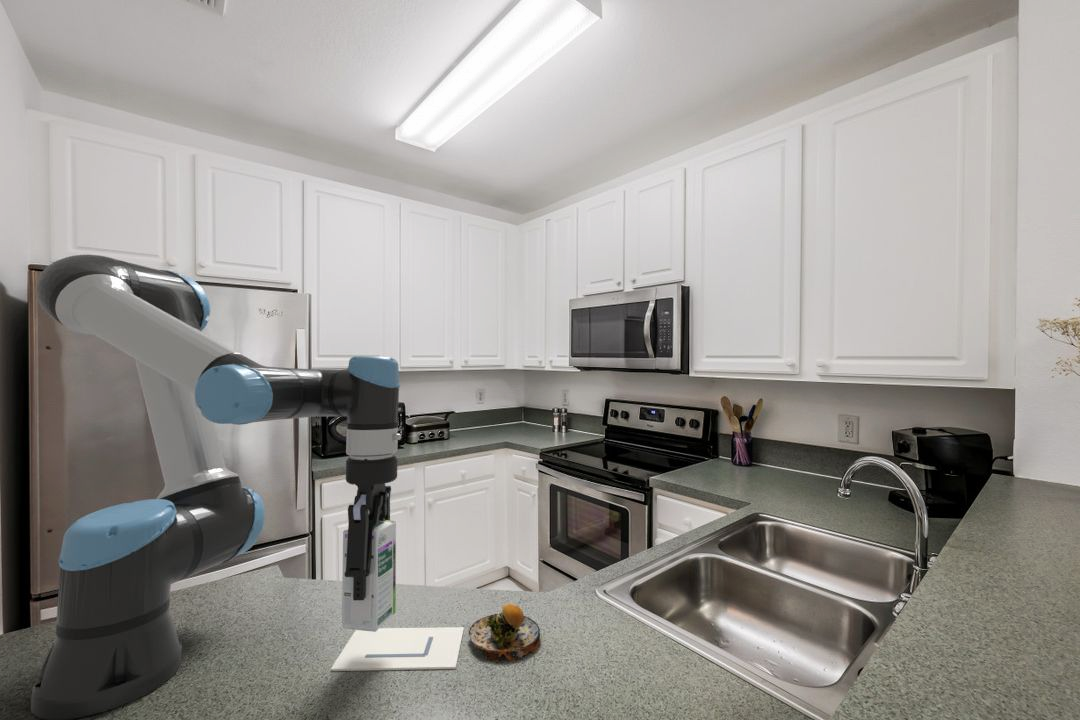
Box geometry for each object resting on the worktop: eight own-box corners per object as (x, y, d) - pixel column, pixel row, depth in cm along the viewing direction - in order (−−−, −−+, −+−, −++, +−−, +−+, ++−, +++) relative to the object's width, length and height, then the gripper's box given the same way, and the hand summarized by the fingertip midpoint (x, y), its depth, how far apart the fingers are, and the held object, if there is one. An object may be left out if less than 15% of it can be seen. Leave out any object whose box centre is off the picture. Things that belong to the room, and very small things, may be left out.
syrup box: (376, 633, 67) (378, 531, 67) (339, 628, 68) (342, 528, 68) (396, 613, 72) (398, 520, 73) (362, 610, 73) (364, 517, 74)
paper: (330, 671, 66) (330, 668, 66) (356, 630, 77) (356, 628, 77) (455, 668, 67) (455, 666, 67) (463, 629, 78) (464, 626, 78)
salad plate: (494, 616, 83) (494, 574, 84) (552, 633, 78) (553, 588, 78) (452, 650, 73) (453, 601, 73) (517, 672, 67) (517, 620, 68)
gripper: (378, 466, 62) (374, 643, 60) (411, 447, 81) (408, 580, 80) (321, 466, 61) (315, 644, 60) (367, 447, 81) (364, 581, 80)
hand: (368, 607), depth 70 cm, fingers closed on syrup box, 6 cm apart
